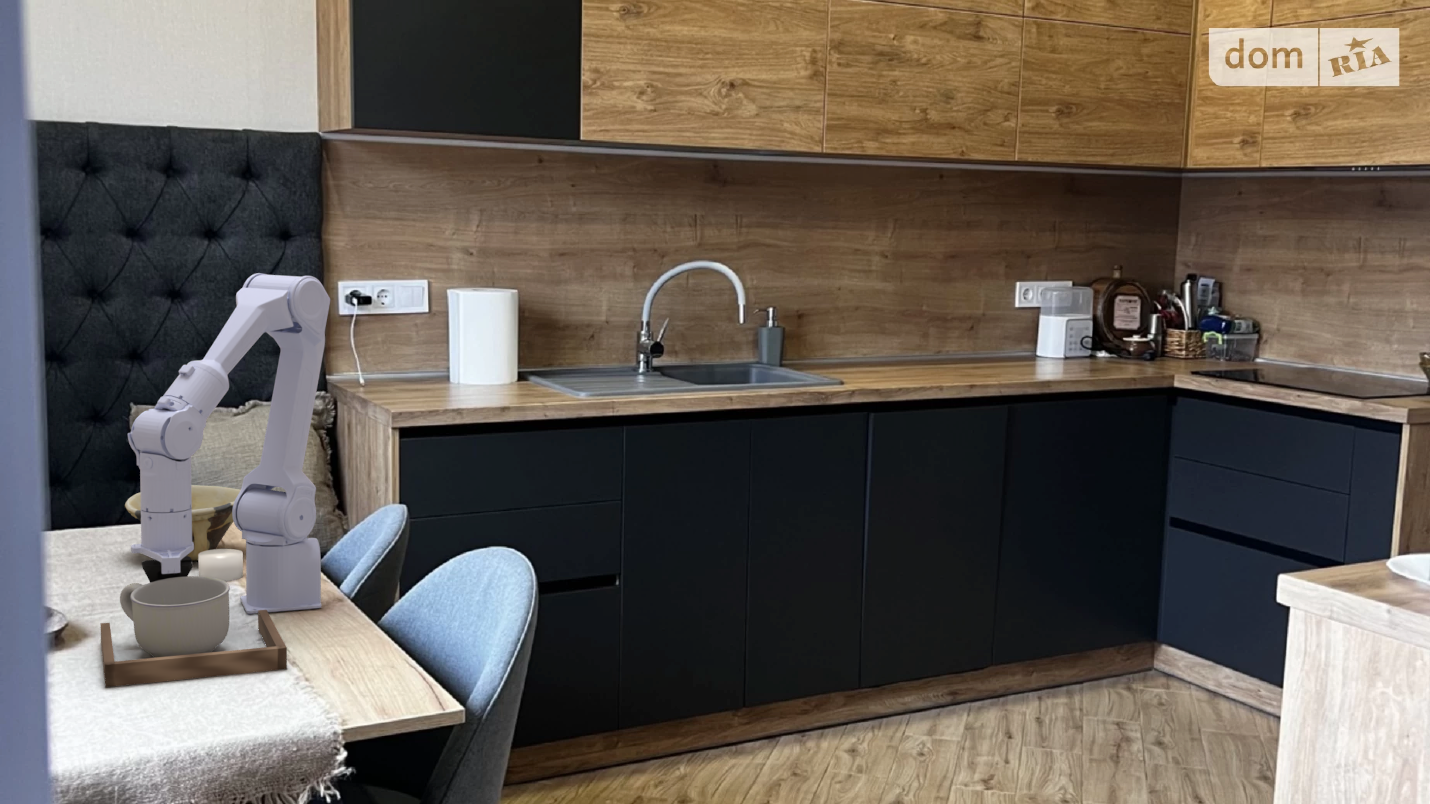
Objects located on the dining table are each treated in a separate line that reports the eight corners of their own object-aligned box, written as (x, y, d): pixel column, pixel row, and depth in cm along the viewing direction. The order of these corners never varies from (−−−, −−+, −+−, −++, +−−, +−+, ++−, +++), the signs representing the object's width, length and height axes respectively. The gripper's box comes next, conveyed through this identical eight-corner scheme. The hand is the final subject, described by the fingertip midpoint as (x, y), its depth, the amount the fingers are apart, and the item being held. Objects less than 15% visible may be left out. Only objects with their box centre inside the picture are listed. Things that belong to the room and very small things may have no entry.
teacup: (250, 650, 161) (249, 585, 160) (172, 674, 152) (170, 605, 151) (173, 630, 169) (172, 567, 168) (94, 652, 159) (92, 585, 158)
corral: (266, 629, 171) (266, 609, 170) (286, 669, 155) (286, 647, 155) (100, 643, 162) (100, 623, 162) (105, 687, 147) (104, 665, 147)
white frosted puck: (240, 571, 200) (240, 547, 199) (245, 580, 194) (245, 556, 194) (196, 574, 197) (196, 550, 196) (200, 584, 192) (200, 559, 191)
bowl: (125, 547, 211) (124, 486, 210) (247, 540, 218) (247, 482, 217) (125, 574, 195) (124, 508, 194) (257, 566, 202) (257, 503, 201)
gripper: (127, 499, 169) (129, 605, 170) (133, 522, 156) (134, 637, 157) (188, 496, 172) (189, 601, 173) (198, 518, 159) (199, 631, 160)
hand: (167, 618), depth 165 cm, fingers closed
